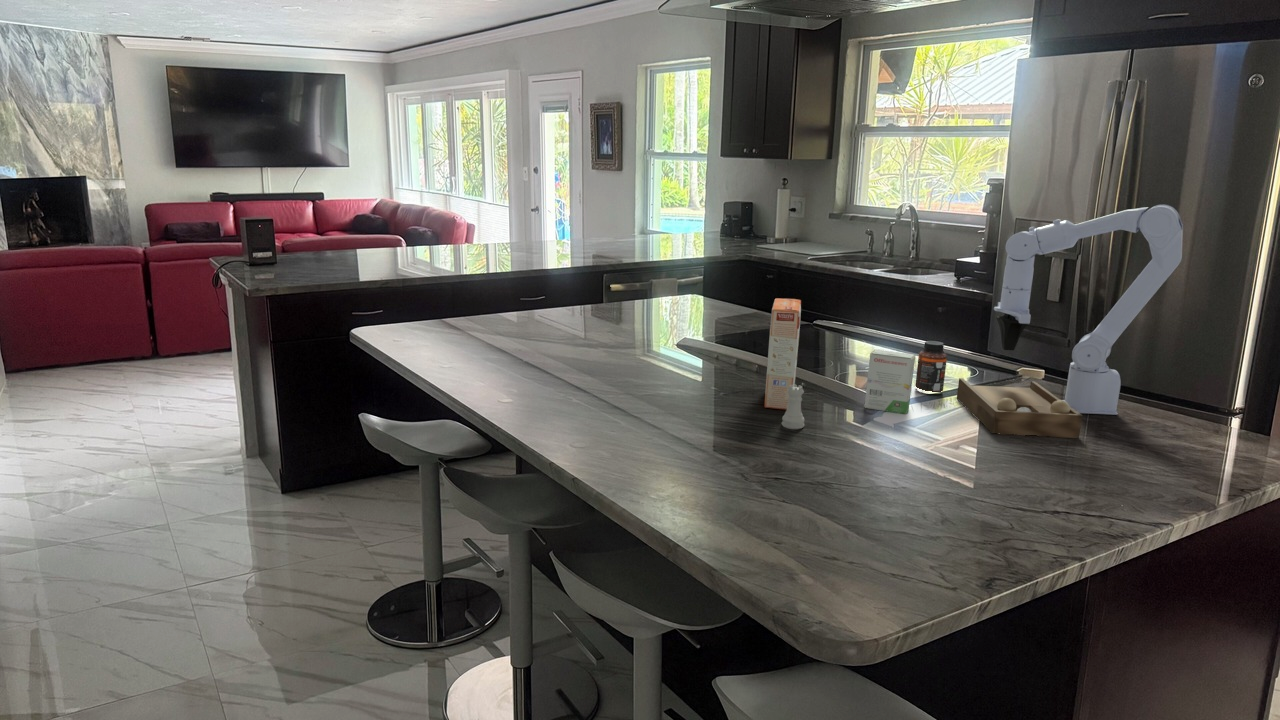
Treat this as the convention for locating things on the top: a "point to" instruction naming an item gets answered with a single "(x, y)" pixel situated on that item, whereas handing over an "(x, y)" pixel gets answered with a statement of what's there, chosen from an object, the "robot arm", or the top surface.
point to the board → (1018, 422)
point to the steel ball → (1024, 409)
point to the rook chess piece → (794, 409)
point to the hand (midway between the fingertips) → (1008, 349)
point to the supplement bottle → (931, 367)
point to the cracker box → (782, 351)
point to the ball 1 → (1006, 405)
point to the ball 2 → (1060, 407)
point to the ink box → (889, 381)
